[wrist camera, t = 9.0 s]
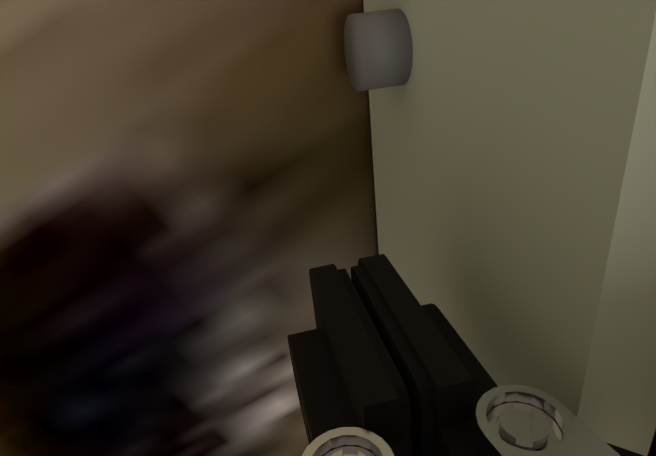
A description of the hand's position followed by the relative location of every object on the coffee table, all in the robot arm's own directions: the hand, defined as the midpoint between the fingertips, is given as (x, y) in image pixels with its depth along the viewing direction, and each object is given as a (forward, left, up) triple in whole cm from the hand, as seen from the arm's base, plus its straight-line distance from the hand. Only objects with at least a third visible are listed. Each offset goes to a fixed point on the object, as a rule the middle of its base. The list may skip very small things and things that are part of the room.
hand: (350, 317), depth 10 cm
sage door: (+3, +3, -7) cm, 8 cm away
